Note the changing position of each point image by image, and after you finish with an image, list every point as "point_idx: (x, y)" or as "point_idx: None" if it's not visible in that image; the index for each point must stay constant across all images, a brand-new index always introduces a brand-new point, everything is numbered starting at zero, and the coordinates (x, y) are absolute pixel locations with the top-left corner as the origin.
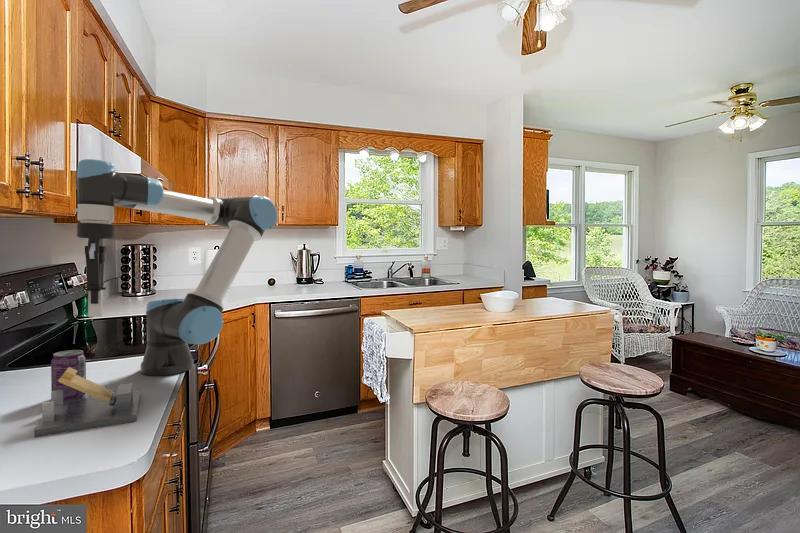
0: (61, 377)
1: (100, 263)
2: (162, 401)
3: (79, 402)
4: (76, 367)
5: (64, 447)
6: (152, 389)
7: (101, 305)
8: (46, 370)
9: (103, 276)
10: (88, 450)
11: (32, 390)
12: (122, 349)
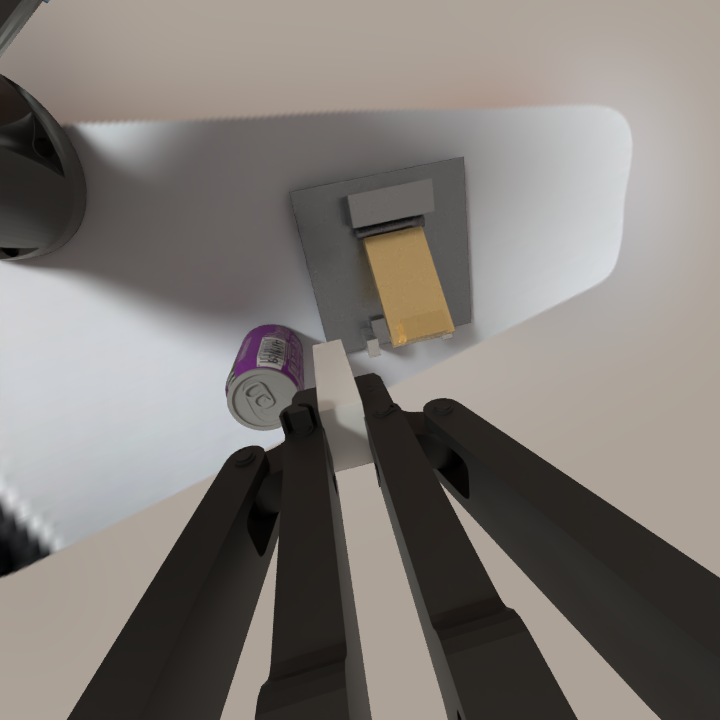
0: (454, 329)
1: (509, 613)
2: (340, 120)
3: (346, 307)
4: (290, 357)
5: (525, 255)
6: (230, 172)
7: (344, 360)
8: (43, 489)
9: (192, 523)
10: (554, 211)
11: (208, 439)
12: None
